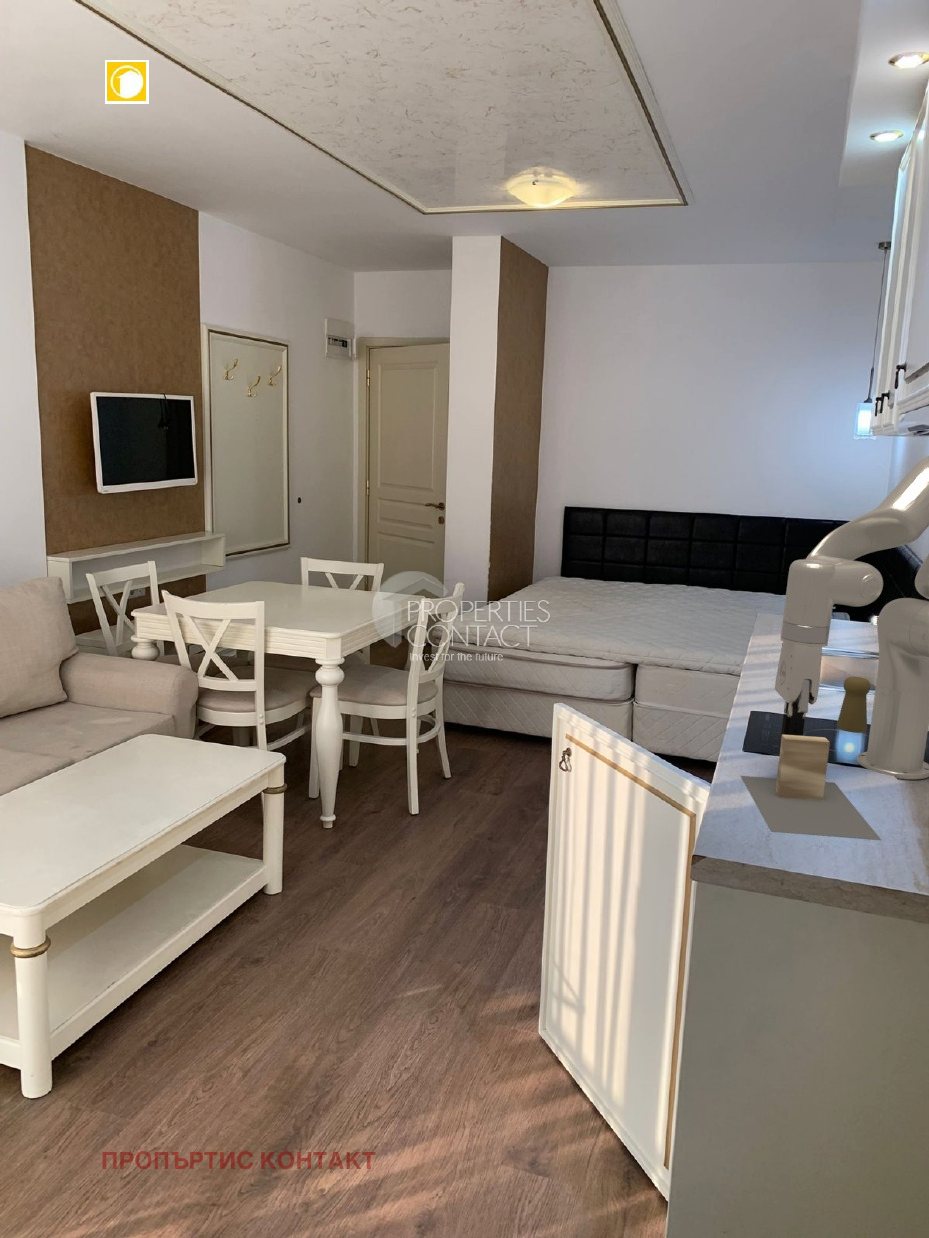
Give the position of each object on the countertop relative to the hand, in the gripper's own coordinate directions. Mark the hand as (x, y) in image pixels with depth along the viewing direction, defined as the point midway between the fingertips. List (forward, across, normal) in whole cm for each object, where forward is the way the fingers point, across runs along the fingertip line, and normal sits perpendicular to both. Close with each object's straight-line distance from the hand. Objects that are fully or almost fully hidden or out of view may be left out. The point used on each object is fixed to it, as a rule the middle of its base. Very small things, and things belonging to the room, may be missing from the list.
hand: (791, 738), depth 160 cm
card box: (+8, +7, +1) cm, 10 cm away
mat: (+8, +11, +1) cm, 14 cm away
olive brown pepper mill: (+8, -38, +23) cm, 45 cm away
